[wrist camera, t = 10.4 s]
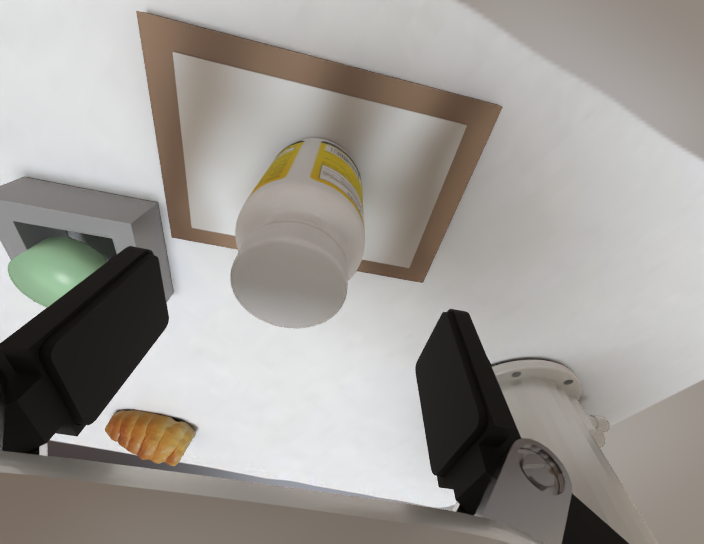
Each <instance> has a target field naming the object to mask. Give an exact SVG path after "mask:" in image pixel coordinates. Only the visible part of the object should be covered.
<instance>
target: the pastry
mask: <svg viewBox="0 0 704 544" xmlns="http://www.w3.org/2000/svg"><path fill="white" fill-rule="evenodd" d="M105 431H106V432H107V434H108V435H109V436H110V438H111V439H112V440H114V441H117V442H118V443H119V444H120V445H121V446H122V447H124V448H125V449H127V450H128V451H130V452H131V453H133V454H136V455H138V456H139V457H140V459H150V460H151V461H153V462H155V463H161V462H166V463H167V464H168V465H171V466H175V465H176V464H177V463H178V462H179V461H180V460H181V457H182V456H183V455H184V452H185V451H186V449H187V447H188V446H189V444H190V442H191V441H192V439H193V438H194V437H195V435H196V433H195V431H194V430H193V428H192V427H191V426H190V425H189V424H188V423H185V422H183V421H181V422H177V421H175V420H173V418H172V417H168V416H165V415H158V414H156V413H150V412H144V411H138V410H131V411H123V410H121V411H119V412H116V413H115V414H114V415H113V416H112V417H111V419H110V421H109V423H108V424H107V426H106V428H105Z"/></svg>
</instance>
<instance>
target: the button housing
mask: <svg viewBox="0 0 704 544" xmlns="http://www.w3.org/2000/svg"><path fill="white" fill-rule="evenodd" d="M66 230H67V231H72V232H78V233H83V234H89V235H95V236H100V237H106V238H112V240H113V243H114V246H115V250H116V253H117V254H118V253H120V252H121V251H122V250H123V249H125V248H126V247H128V246H134V247H139V248H144V249H149V250H151V251H152V252H153V253H154V255H155V256H157V257H158V259H159V263H160V269H161V275H162V281H163V287H164V292H165V298H166V302H167V301H168V300H169V298H170V297H171V296H172V294H173V287H172V282H171V276H170V270H169V264H168V259H167V253H166V247H165V241H164V236H163V230H162V224H161V218H160V213H159V207H158V203H157V202H152V201H147V200H141V199H136V198H131V197H126V196H121V195H115V194H110V193H105V192H100V191H95V190H90V189H84V188H79V187H74V186H69V185H64V184H58V183H53V182H48V181H43V180H38V179H33V178H27V177H22V178H20V179H17V180H14V181H12V182H9V183H7V184H4V185H2V186H0V241H1V242H2V244H3V246H4V248H5V250H6V252H7V253H8V255H9V257H10V259H11V260H12V259H13V258H15V257H17V256H18V255H20V254H21V253H23V252H25V251H26V250H28V249H30V248H31V247H33V246H34V245H36V244H38V243H39V242H41V241H43V240H44V239H46V238H49V237H55V236H61V237H68V235H67V233H66ZM34 302H35V301H34Z"/></svg>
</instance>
